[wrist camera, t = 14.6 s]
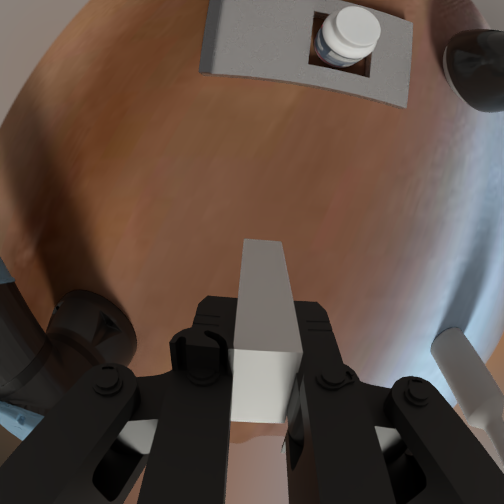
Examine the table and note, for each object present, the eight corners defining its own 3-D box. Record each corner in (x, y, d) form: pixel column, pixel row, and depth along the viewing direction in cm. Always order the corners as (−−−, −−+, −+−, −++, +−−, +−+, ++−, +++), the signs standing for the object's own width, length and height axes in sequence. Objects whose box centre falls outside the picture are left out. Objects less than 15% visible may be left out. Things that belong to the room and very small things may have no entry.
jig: (204, 76, 29) (198, 72, 26) (217, -8, 24) (213, -17, 22) (399, 108, 29) (409, 108, 26) (405, 27, 24) (415, 21, 22)
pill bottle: (318, 21, 25) (333, -9, 17) (362, 35, 25) (391, 11, 17) (309, 61, 27) (323, 40, 19) (354, 74, 28) (383, 60, 19)
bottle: (451, 356, 43) (514, 480, 17) (424, 357, 43) (484, 495, 17) (467, 327, 40) (545, 452, 15) (440, 326, 40) (519, 468, 15)
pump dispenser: (492, 117, 27) (574, 130, 13) (434, 105, 28) (519, 107, 14) (486, 47, 23) (563, 36, 9) (426, 29, 24) (500, -3, 10)
